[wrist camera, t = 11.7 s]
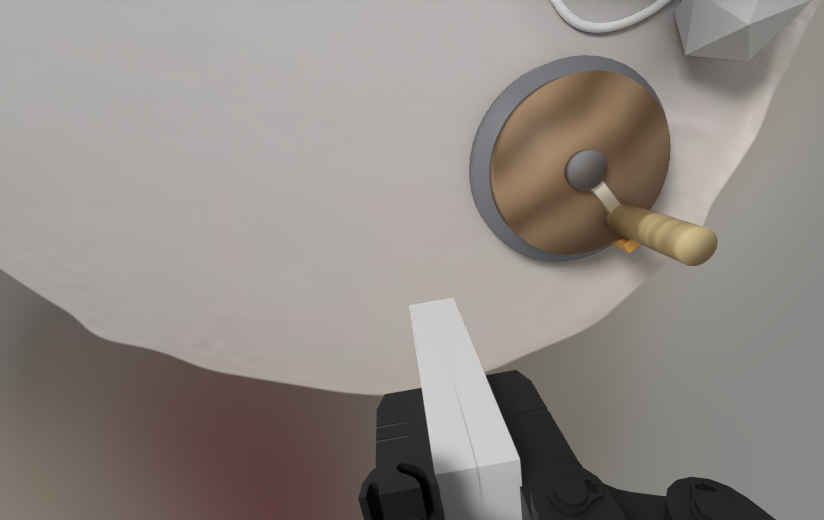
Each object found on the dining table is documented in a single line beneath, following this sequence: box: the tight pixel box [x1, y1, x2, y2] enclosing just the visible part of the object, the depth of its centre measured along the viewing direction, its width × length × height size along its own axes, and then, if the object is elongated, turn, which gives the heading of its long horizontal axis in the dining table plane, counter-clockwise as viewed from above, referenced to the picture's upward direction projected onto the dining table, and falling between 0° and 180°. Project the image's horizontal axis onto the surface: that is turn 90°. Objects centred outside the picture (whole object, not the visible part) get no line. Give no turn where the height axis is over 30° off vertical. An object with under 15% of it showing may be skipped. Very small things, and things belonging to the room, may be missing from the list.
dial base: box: [469, 55, 668, 261], centre depth 38 cm, size 20×20×5 cm
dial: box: [489, 70, 717, 266], centre depth 32 cm, size 17×17×12 cm
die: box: [674, 0, 812, 62], centre depth 33 cm, size 8×9×10 cm
